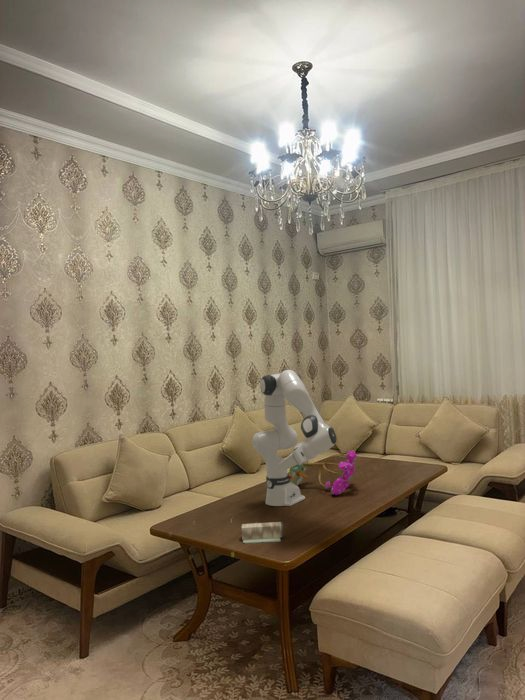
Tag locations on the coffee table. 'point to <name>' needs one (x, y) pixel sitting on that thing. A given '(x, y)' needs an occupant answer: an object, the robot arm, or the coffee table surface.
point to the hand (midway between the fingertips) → (279, 466)
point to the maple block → (262, 530)
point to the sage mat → (261, 540)
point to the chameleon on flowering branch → (339, 484)
